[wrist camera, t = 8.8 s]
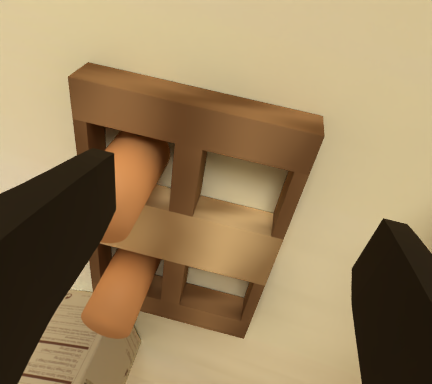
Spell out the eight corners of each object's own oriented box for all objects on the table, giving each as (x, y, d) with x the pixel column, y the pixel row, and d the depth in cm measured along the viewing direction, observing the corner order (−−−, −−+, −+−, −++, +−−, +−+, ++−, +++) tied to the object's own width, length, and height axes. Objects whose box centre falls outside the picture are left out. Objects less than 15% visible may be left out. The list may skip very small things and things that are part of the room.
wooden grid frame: (322, 116, 17) (324, 136, 16) (247, 315, 29) (243, 338, 27) (88, 62, 18) (68, 76, 17) (104, 278, 30) (93, 298, 28)
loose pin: (172, 132, 20) (132, 201, 15) (167, 177, 22) (129, 250, 17) (117, 117, 20) (59, 181, 15) (116, 163, 22) (66, 232, 17)
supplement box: (144, 340, 35) (81, 507, 25) (75, 331, 37) (-8, 485, 27) (124, 293, 30) (39, 473, 21) (47, 285, 32) (-65, 449, 22)
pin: (162, 242, 25) (131, 316, 21) (160, 270, 27) (131, 343, 23) (119, 231, 26) (78, 302, 21) (120, 260, 28) (83, 330, 23)
